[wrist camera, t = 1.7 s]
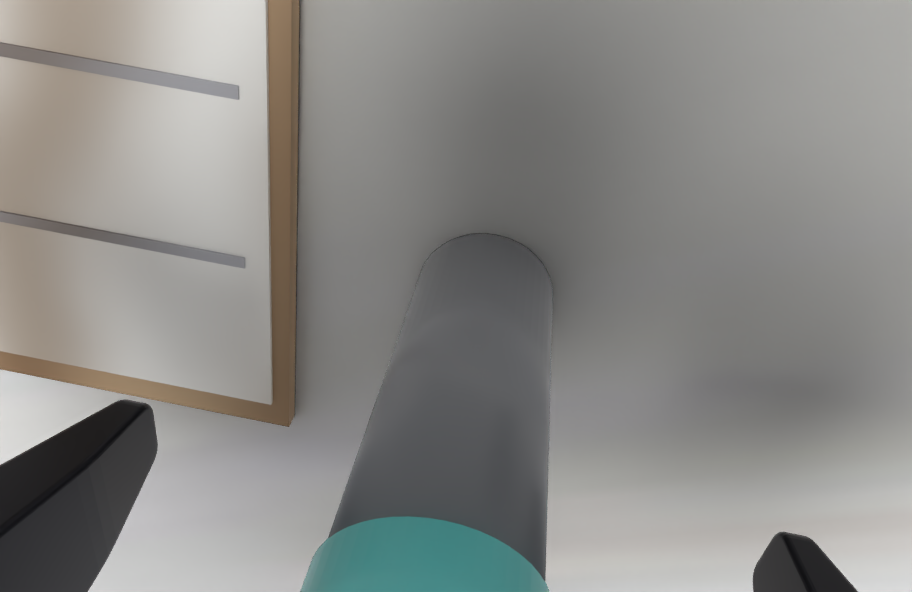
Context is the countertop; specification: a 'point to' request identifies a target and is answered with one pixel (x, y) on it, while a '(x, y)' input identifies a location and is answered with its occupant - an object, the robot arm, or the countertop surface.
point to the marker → (454, 437)
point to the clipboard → (152, 199)
